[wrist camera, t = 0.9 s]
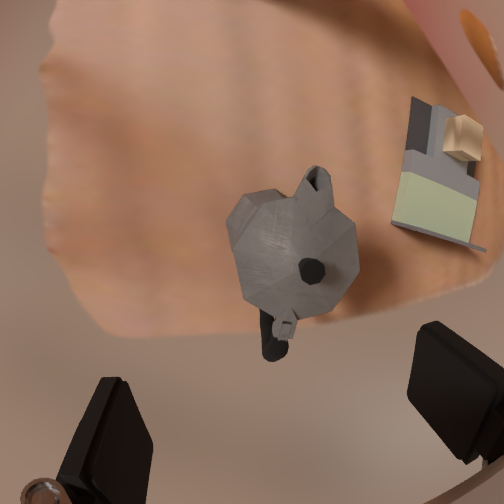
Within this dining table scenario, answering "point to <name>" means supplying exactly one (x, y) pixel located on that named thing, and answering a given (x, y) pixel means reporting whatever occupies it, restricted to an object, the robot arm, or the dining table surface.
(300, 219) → the coffeepot
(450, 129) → the maple block
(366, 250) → the dining table surface
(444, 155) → the multicoloured piece
